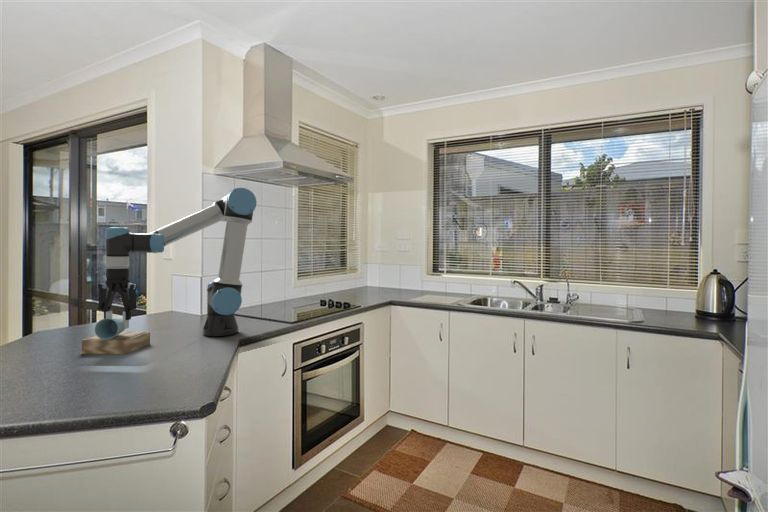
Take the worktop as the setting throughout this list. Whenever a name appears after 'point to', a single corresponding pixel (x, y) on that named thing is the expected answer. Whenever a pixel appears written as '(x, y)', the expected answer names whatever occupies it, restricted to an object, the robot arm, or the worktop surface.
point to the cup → (109, 328)
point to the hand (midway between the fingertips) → (117, 328)
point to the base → (116, 343)
